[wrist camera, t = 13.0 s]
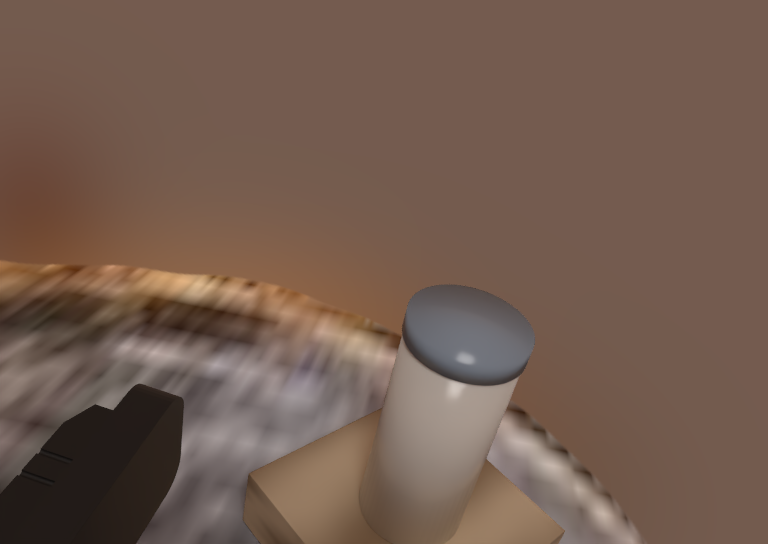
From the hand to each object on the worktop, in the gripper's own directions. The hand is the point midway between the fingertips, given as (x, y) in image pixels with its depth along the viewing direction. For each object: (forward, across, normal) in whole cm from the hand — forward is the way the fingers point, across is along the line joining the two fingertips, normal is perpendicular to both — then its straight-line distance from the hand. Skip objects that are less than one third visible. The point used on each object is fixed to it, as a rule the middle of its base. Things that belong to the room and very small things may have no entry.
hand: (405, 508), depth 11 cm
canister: (+15, -1, +18) cm, 23 cm away
